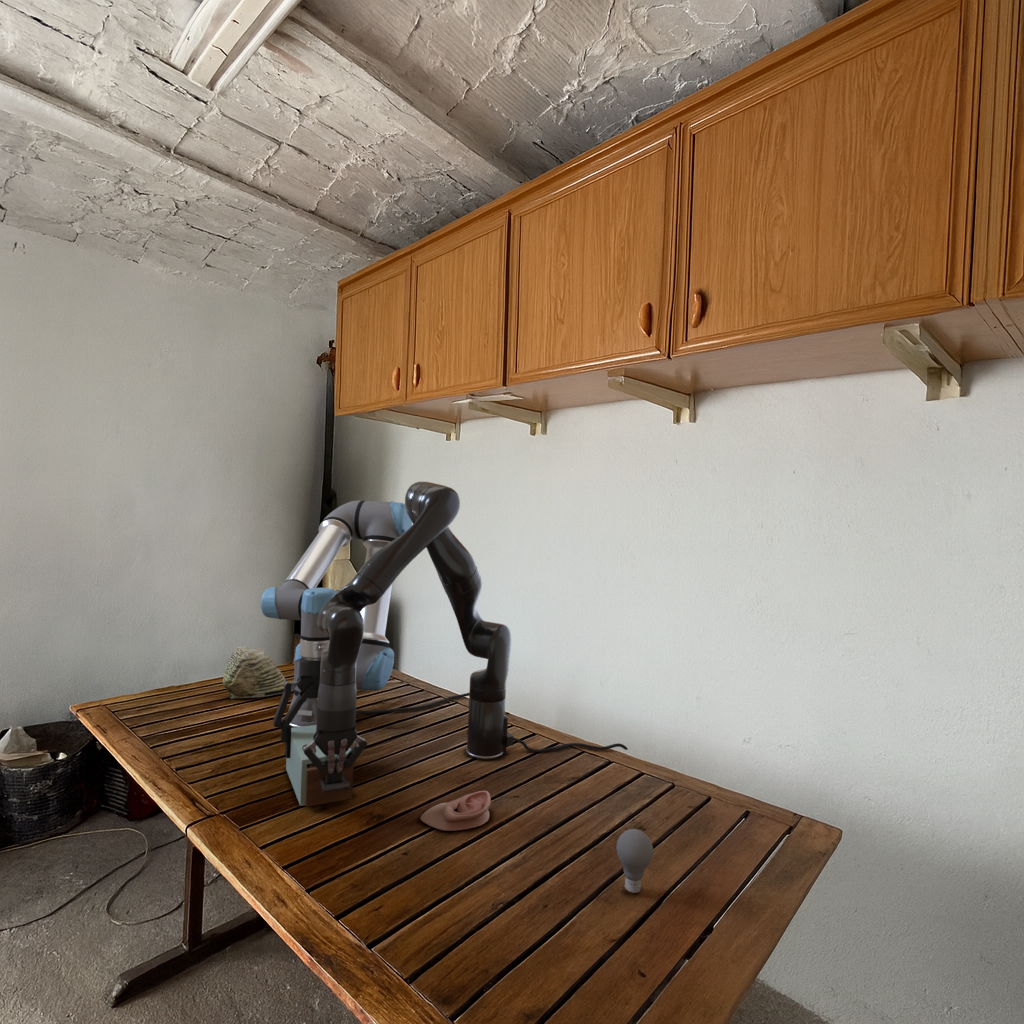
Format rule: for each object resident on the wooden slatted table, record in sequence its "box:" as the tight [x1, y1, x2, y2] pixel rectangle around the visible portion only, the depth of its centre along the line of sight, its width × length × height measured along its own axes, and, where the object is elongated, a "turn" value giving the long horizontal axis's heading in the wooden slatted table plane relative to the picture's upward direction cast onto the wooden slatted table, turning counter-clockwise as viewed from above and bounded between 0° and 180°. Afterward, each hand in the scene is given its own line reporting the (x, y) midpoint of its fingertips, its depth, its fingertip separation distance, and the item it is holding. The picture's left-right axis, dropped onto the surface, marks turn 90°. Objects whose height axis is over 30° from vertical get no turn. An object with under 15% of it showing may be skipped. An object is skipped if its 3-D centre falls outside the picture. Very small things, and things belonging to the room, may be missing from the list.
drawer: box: [304, 761, 355, 808], centre depth 135 cm, size 23×9×8 cm, turn 28°
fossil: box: [222, 646, 287, 699], centre depth 198 cm, size 9×18×15 cm, turn 132°
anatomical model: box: [419, 790, 492, 832], centre depth 127 cm, size 13×4×12 cm
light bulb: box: [615, 828, 654, 894], centre depth 106 cm, size 6×6×10 cm
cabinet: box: [285, 725, 352, 807], centre depth 140 cm, size 19×10×10 cm, turn 28°
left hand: (313, 752), depth 145 cm, fingers closed on cabinet, 10 cm apart
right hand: (333, 789), depth 127 cm, fingers closed
